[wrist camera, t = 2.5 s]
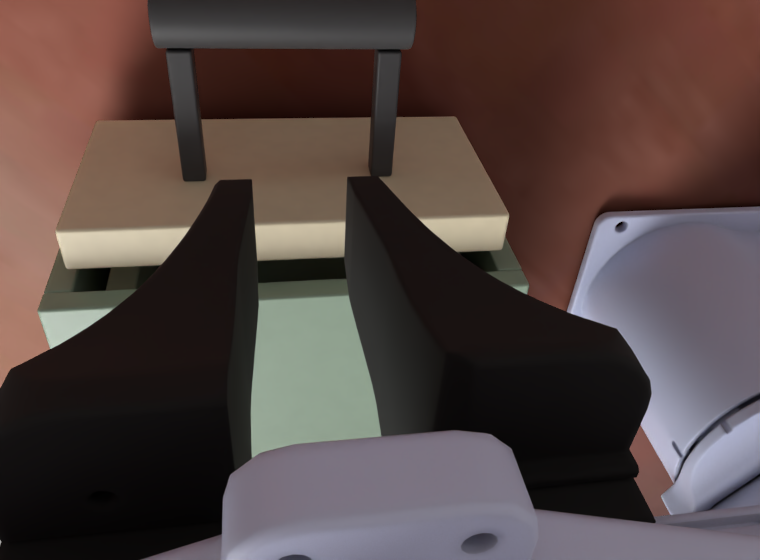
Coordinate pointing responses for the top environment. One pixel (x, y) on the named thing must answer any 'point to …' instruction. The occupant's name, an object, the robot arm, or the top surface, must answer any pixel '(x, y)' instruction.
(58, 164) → the top surface
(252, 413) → the cabinet
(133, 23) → the top surface
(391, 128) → the drawer
